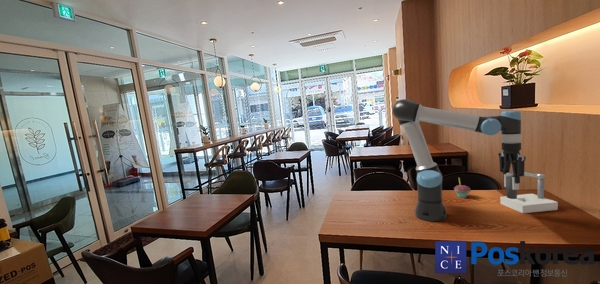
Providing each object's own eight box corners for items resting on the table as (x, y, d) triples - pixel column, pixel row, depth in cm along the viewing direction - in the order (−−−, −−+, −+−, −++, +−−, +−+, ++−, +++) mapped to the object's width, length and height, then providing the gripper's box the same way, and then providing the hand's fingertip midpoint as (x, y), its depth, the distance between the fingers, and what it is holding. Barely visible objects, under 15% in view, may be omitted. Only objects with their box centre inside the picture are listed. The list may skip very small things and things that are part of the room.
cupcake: (451, 196, 160) (450, 177, 159) (460, 193, 164) (459, 175, 163) (465, 199, 153) (464, 180, 151) (473, 196, 156) (473, 177, 155)
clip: (512, 176, 146) (512, 170, 146) (516, 175, 147) (516, 169, 147) (542, 182, 132) (542, 175, 132) (546, 181, 133) (546, 174, 133)
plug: (511, 199, 126) (510, 175, 125) (504, 196, 131) (503, 173, 129) (519, 198, 126) (519, 174, 125) (512, 195, 131) (512, 172, 129)
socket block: (522, 213, 129) (522, 185, 127) (500, 203, 143) (500, 177, 141) (557, 209, 129) (558, 181, 127) (531, 200, 143) (532, 174, 141)
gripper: (535, 143, 117) (535, 192, 119) (504, 139, 134) (504, 182, 137) (519, 145, 117) (519, 193, 119) (490, 141, 134) (491, 184, 137)
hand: (511, 187), depth 128 cm, fingers closed on plug, 4 cm apart
